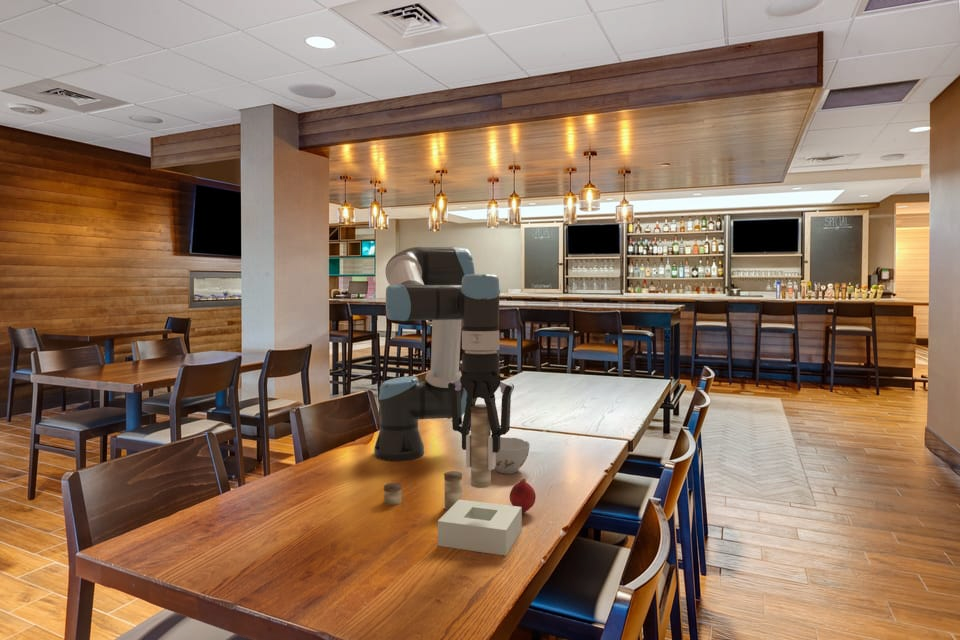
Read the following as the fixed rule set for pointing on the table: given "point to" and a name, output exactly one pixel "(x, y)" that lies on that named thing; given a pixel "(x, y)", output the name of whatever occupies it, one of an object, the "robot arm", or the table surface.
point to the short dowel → (392, 493)
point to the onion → (522, 495)
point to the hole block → (480, 527)
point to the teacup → (511, 455)
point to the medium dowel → (452, 488)
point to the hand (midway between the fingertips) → (481, 466)
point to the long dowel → (480, 446)
